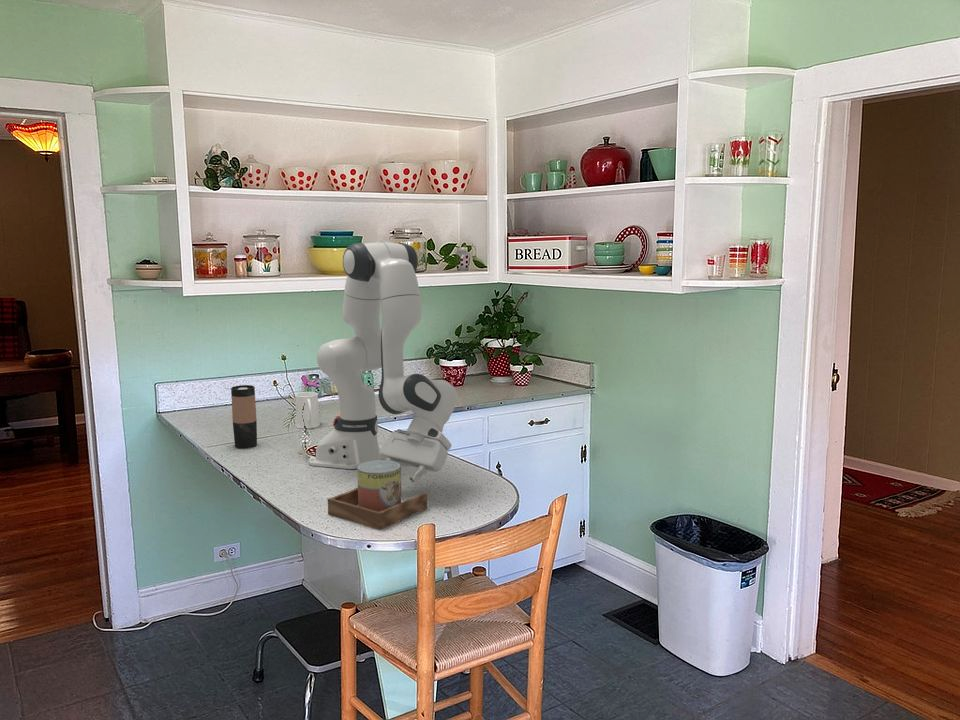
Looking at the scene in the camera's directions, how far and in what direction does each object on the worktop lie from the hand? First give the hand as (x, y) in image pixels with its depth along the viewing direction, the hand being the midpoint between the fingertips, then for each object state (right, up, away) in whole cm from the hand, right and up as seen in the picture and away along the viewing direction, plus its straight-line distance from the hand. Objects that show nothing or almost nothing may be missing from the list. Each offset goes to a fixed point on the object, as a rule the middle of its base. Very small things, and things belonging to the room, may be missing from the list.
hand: (399, 477), depth 214 cm
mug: (-41, +7, +79) cm, 89 cm away
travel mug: (-57, +3, +55) cm, 79 cm away
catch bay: (-5, -8, -6) cm, 11 cm away
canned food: (-4, -8, -6) cm, 11 cm away
